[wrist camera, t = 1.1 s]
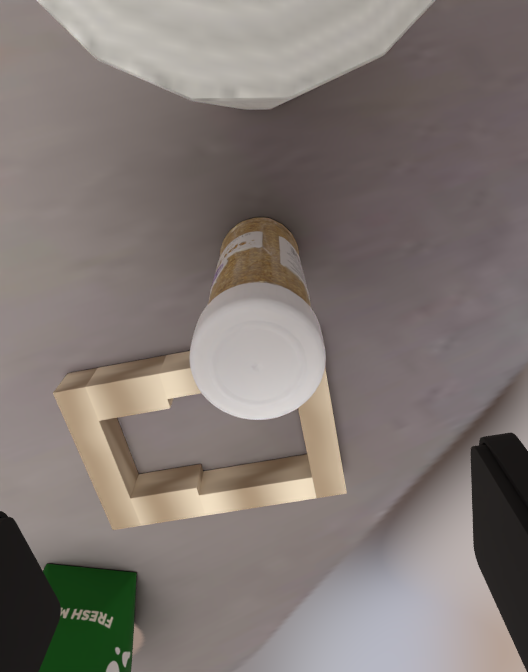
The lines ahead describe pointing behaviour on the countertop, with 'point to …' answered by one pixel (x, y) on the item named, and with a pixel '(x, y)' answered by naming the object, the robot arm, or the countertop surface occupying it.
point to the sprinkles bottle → (258, 327)
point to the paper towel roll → (237, 42)
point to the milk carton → (91, 620)
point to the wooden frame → (191, 481)
